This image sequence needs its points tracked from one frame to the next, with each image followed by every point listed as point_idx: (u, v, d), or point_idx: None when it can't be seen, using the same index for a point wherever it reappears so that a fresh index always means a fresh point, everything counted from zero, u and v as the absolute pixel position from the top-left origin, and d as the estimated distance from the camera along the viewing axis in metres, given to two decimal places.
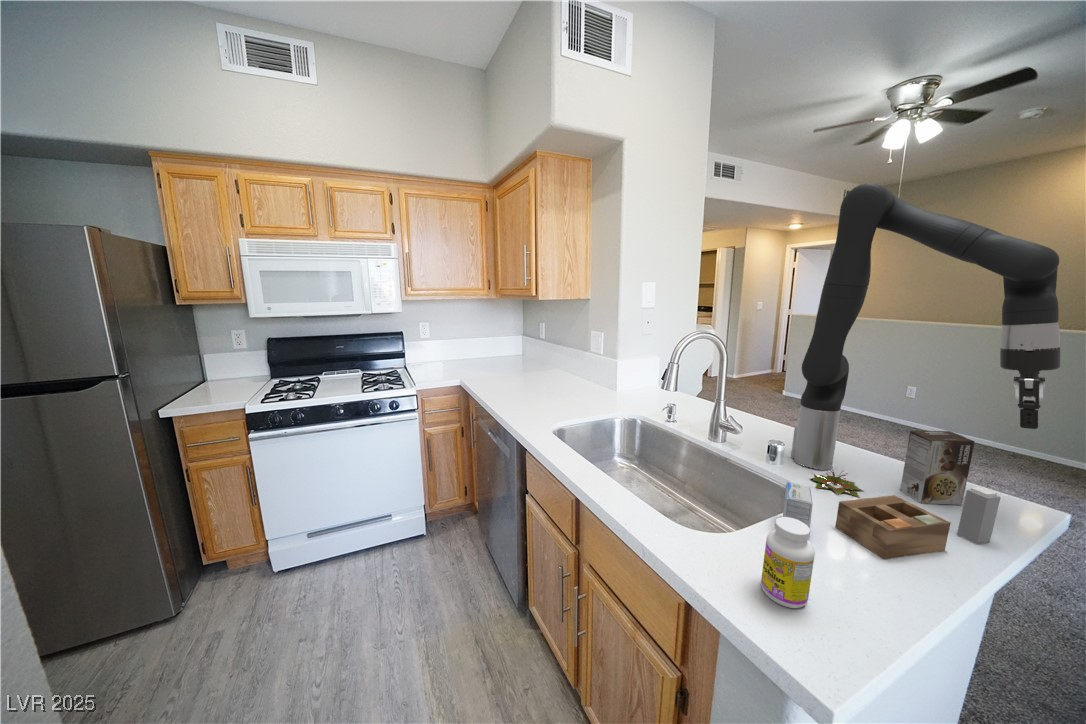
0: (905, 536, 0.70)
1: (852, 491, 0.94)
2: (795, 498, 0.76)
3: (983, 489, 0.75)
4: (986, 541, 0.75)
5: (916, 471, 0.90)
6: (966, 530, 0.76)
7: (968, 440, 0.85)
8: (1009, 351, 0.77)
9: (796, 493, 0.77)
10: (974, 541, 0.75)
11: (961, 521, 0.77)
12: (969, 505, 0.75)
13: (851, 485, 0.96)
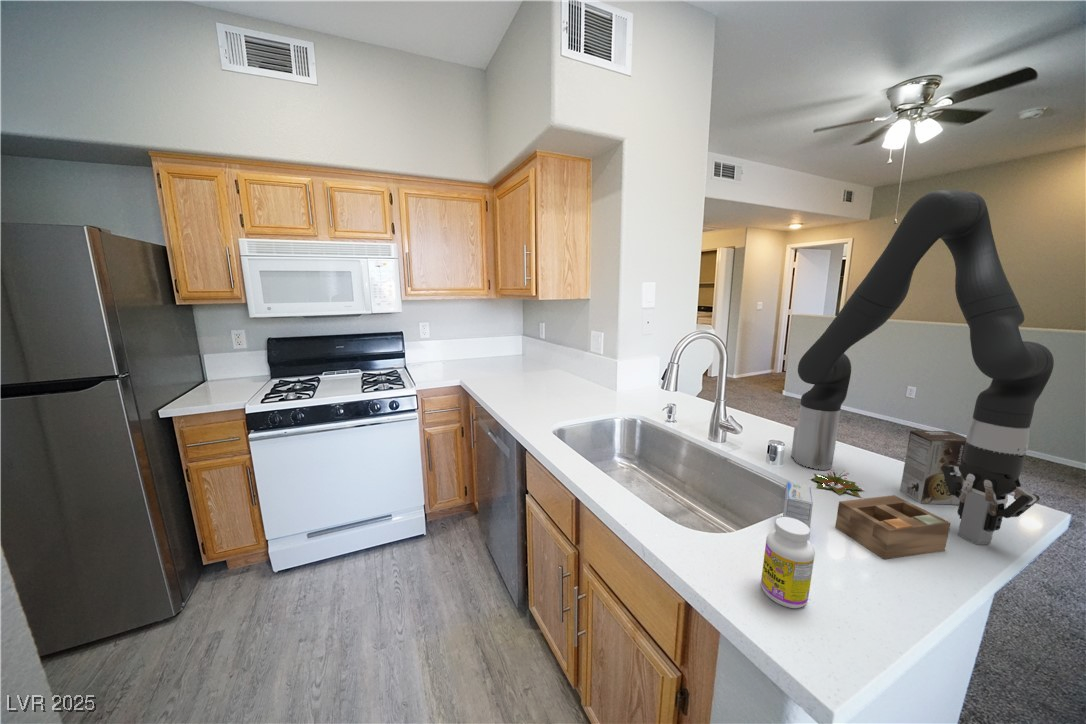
0: (905, 536, 0.70)
1: (853, 491, 0.94)
2: (795, 498, 0.76)
3: None
4: (987, 541, 0.75)
5: (916, 471, 0.90)
6: (967, 530, 0.76)
7: None
8: (1003, 455, 0.69)
9: (796, 493, 0.77)
10: (975, 541, 0.75)
11: (962, 521, 0.76)
12: (969, 506, 0.75)
13: (852, 485, 0.96)
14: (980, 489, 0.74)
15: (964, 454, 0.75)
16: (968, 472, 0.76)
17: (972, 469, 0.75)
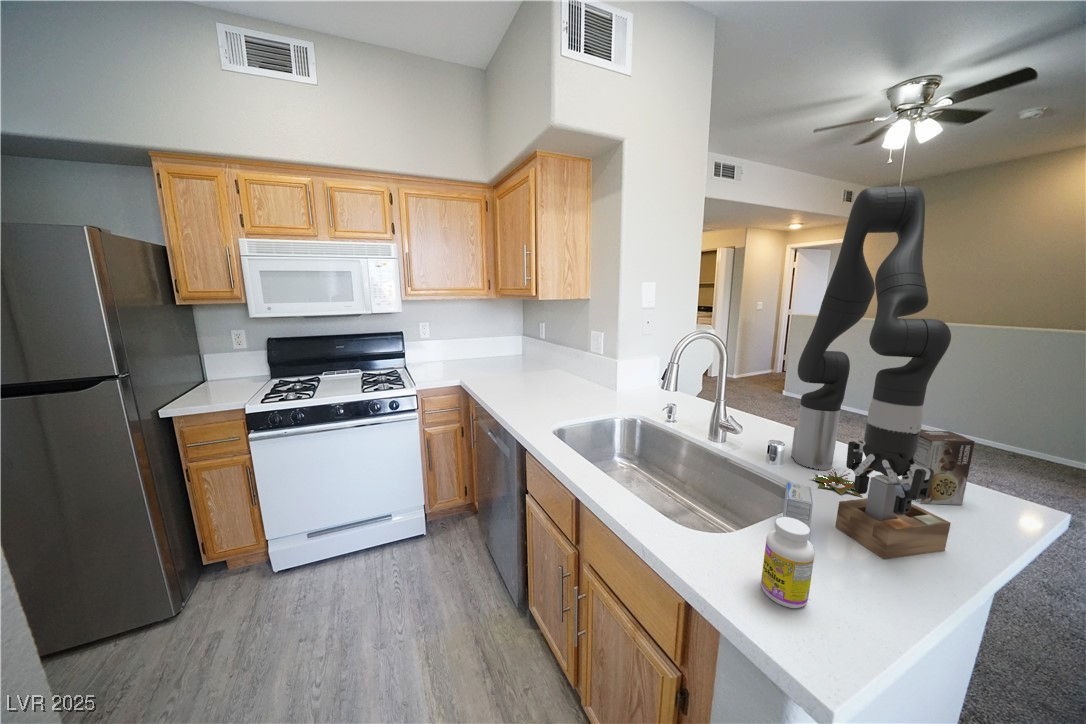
0: (905, 536, 0.70)
1: (854, 491, 0.94)
2: (795, 498, 0.76)
3: (886, 476, 0.74)
4: None
5: None
6: None
7: (968, 440, 0.85)
8: (897, 434, 0.68)
9: (796, 493, 0.77)
10: None
11: (866, 509, 0.76)
12: (872, 493, 0.75)
13: (853, 485, 0.96)
14: (875, 469, 0.74)
15: (865, 434, 0.74)
16: (870, 453, 0.75)
17: (873, 449, 0.74)
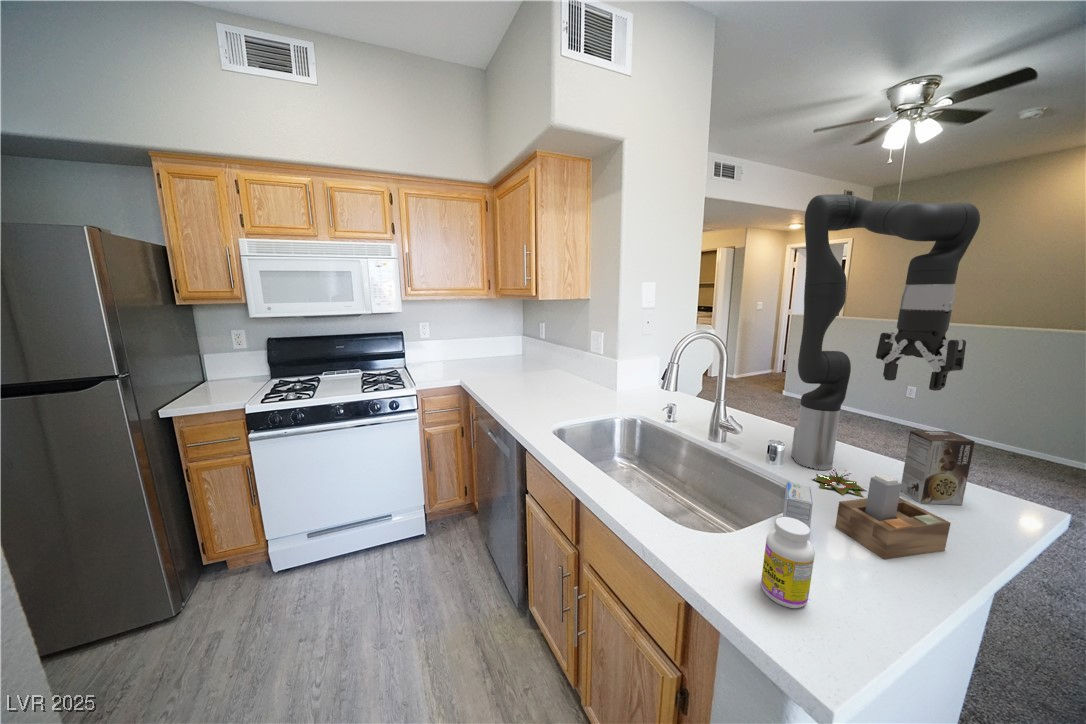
0: (905, 536, 0.70)
1: (855, 491, 0.94)
2: (795, 498, 0.76)
3: (886, 476, 0.74)
4: None
5: (916, 471, 0.90)
6: None
7: (968, 440, 0.85)
8: (930, 312, 0.73)
9: (796, 493, 0.77)
10: None
11: (866, 509, 0.76)
12: (872, 493, 0.75)
13: (854, 485, 0.96)
14: (906, 353, 0.79)
15: (898, 321, 0.79)
16: (902, 339, 0.79)
17: (905, 335, 0.79)
